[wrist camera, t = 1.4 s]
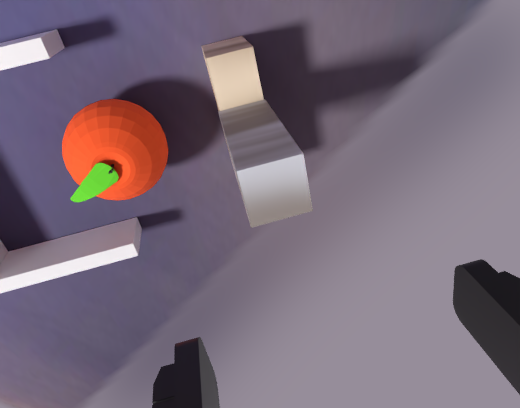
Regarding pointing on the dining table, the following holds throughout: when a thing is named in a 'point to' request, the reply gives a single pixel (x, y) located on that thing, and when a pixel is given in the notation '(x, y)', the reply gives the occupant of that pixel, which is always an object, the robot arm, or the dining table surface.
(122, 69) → the dining table surface
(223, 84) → the silver bent metal strip
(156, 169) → the clementine
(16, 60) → the box
